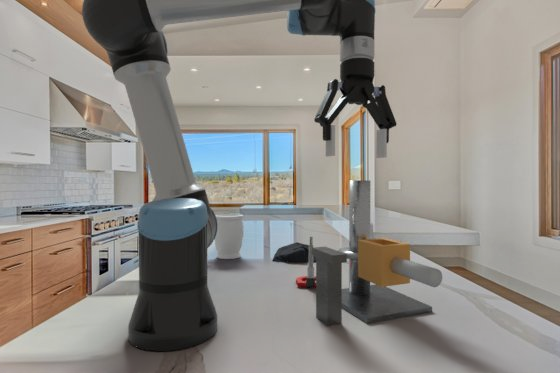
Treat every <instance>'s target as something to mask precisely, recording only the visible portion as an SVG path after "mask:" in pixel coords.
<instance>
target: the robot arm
mask: <svg viewBox="0 0 560 373" xmlns="http://www.w3.org/2000/svg"><path fill="white" fill-rule="evenodd" d="M375 2H376V0H83V1H82V5H81V6H82V8H81V14H82V20H83V23H84V26H85V28H86V30H87V32H88V34H89V36H91V37H92V39H93V40H94V41H95V42H96V43H97V44H98V45H100V47H102V48H103V49H104V50H105V51H106V53H107V58H108V60H109V63H110V66H111V70H112V73H113V76H114V79H115V80H116V81H118V82H119V83H120V84H123V85H124V88H125V91H126V94H127V98H128V101H129V104H130V107H131V111H132V115H133V118H134V121H135V126H136V130H137V131H138V134H139V139H140V142H141V145H142V149H143V153H144V157H145V159H146V163H147V166H148V169H149V174H150V177H151V180H152V184H153V187H154V190H155V196H154V197H153V199H152V201H149V202H145V203H144V204H143V205H142V206H141V207H140V209H139V212H138V220H137V224H136V226H137V230H138V282H139V283H138V294H137V298H136V301H135V304H134V307H133V310H132V313H131V315H130V319H129V323H128V327H127V329H128V335H127V336H128V338H127V339H128V342H129V341H130V342H129V343H130V344H131V345H132V346H133V345H134V346H133V347H135V346H137V347H138V348H137V347H136V348H137V349H140V348H141V349H140V350H144V349H145V351H150V350H154V351H153V352H168V351H178V350H182V349H188V348H190V347H195V346H197V345H200V344H201V343H203V342H205V341H207V340H209V339H211V337H213V336H214V335H215V334H216V333H217V331H218V314H217V311H216V306H215V304H214V301H213V298H212V295H211V293H210V289H209V286H208V249H209V247H211V245H212V244H213V242H215V240H214V239H215V237H216V233H217V227H218V224H217V218H216V216H215V215H216V214H215V212H214V210H213V209H212V208H211V205H210V202H209V197H208V195H207V192H206V189H205V187H203V186H201V185H199V184H198V182H196V178H195V174H194V171H193V168H192V164H191V161H190V158H189V153H188V151H187V147H186V143H185V141H184V140H185V139H184V137H183V132H182V129H181V126H180V122H179V118H178V115H177V112H176V109H175V108H176V107H175V105H174V101H173V98H172V95H171V90H170V88H169V83H168V80H167V77H168V75H169V73H171V65H170V62H169V58H168V44H167V39H166V36H165V34H164V33H163V31H162V30H163V29H164V28H165V26H167V25H168V26H169V25H175V24H184V23H192V22H202V21H211V20H219V19H227V18H237V17H243V16H253V15H260V14H271V13H277V12H278V13H280V12H286V13H287V14H286V28H287V31H288V33H289V34H291V35H301V36H331V37H333V36H334V37H337V36H338V37H339V44H340V45H339V47H340V48H339V61H340V64H339V79H337V78H334V79H332V80H331V81H329V82H328V83H327V86H326V88H327V89H326V93H325V94H324V97H323V99H322V102H321V104H320V107H319V108H318V110H317V112H316V114H315V116H314V119H313V120H314V123H317V124H319V125H320V127H322V140H323V141H324V142H325V157H334V156H336V125H335V124H333V123H334V121H335V119H336V118H337V117H338V116H339V114H341V112H342V111H343V109H345V107H346V106H347V104H348V105H357V106H363V108H364V109H366V110H367V113H369V115H370V117H371V118H372V119H373V121H374V123H375V124H376V126H377V127H378V129H377V130H376V136H375V137H376V141H375V142H376V145H375V146H376V150H375V151H376V159H381V158H382V159H383V158H387V155H388V153H387V150H388V149H387V144H389V140H390V129H392V128H394V127H397V121H396V118H395V116H394V114H393V111H392V107H391V105H390V103H389V100H388V97H387V94H386V93H387V92H386V87H385V85H384V84H382V85H380V86H375V85H374V79H375V61H374V60H375V29H376V28H375V25H376V24H375V21H376V16H375V15H376V5H375ZM339 80H340V81H339ZM338 91H340V92H341V96H340V97H339V99H337V102H336V103H335V105H334V106H333V107H332V109H331V106H332V104H333V102H334V99H335V97H336V95H337V93H338ZM330 109H331V110H330ZM329 110H330V111H329ZM155 350H156V351H155Z"/></svg>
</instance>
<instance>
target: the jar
mask: <svg viewBox="0 0 560 373" xmlns="http://www.w3.org/2000/svg"><path fill="white" fill-rule="evenodd" d="M215 216H216V218H217V224H218V227H217V233H216V237H215V239H214V246H215V249H216V252H217V254H216V258H218V259H220V260H235V259H239V258H240V257H241V253H240V252H241V249H242V247H243V239H244V223H243V219H244V214H239V213H219V214H218V213H217V214H215Z"/></svg>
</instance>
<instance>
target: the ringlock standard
mask: <svg viewBox="0 0 560 373" xmlns="http://www.w3.org/2000/svg"><path fill="white" fill-rule="evenodd" d="M348 182H349V186H348V187H349V190H348V191H349V195H348V199H349V202H348V203H349V204H348V206H349V207H348V208H349V210H348V212H349V213H348V216H349V217H348V218H349V222H348V223H349V224H348V226H349V228H348V235H349V236H348V237H349V241H348V242H349V245H348V246H345V247H341V248H340V247H339V249H338V250H337V251H339V252H342V253H345V254H347V259H348V260H349V261H348V266H349V267H348V270H349V271H348V274H349V275H348V288H342V309H343V308H344V309H343V310H345V311H346V310H347V311H346V312H348V313H349V314H351V315H353V316H354V317H356V318H357V319H359V320H361V321H362V322H364V323H365V324H372V323H377V322H383V321H389V320H393V319H394V320H395V319H399V318H405V317H406V318H407V317H411V316H416V315H421V314H427V313H433V306H432V305H429V304H426V303H425V302H421V301H420V300H417V299H415V298H412V297H410V296H408V295H406V294H405V293H404V294H403V293H401V292H399V291H397V290H394V289H392V288H390V287H389V286H386V287H381V286H378V285H376V284H371V282H369V281H367V280H365V279H363V278H360V277H358V240H365V239H370V223H371V179H370V180H364V179H363V180H354V179H353V180H348Z"/></svg>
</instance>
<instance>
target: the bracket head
mask: <svg viewBox="0 0 560 373" xmlns="http://www.w3.org/2000/svg"><path fill="white" fill-rule="evenodd" d="M358 277H360V278H363V279H365V280H367V281H369V282H370V283H372V284H373V285H378V286H381V287H393V286H398V285H399V286H400V285H407V284H411V280H412V281H416V282H418V283H422V285H426V286H429V287H432V288H437V287H439V286H440V285H441V283H443V282H442V281H443V273H442V270H440V269H438V268H436V267H432V266H428V265H425V264H422V263H419V262H415V261H411V243H406V242H403V241H399V240H394V239H391V238H386V237H380V238H374V239H365V240H358Z"/></svg>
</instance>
